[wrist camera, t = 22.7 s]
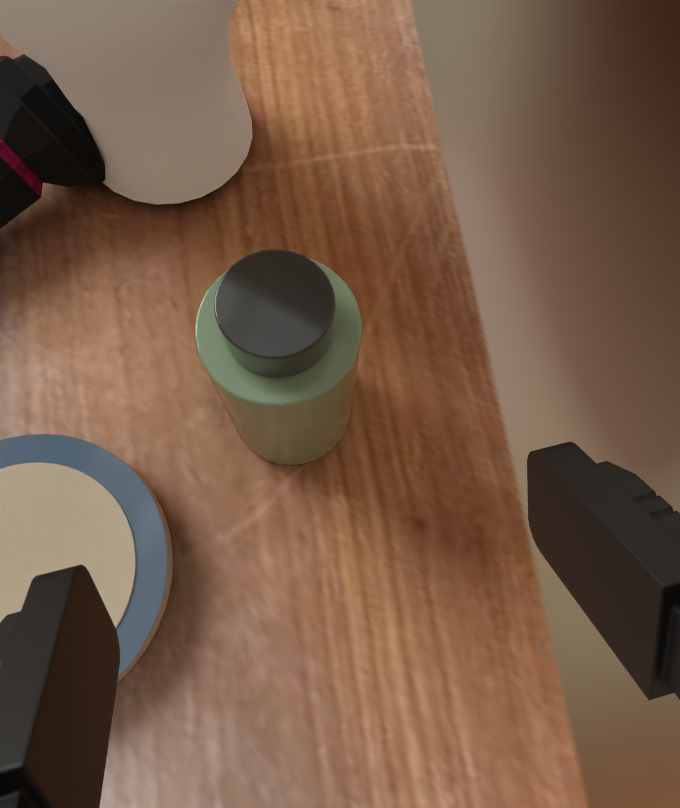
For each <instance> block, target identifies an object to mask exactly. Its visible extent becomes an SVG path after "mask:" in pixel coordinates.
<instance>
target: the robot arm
mask: <svg viewBox="0 0 680 808" xmlns="http://www.w3.org/2000/svg"><path fill="white" fill-rule="evenodd" d="M527 478H528V520H529V526H530V530H531V533H532V536H533V539H534V541H535V543H536V545H537V547H538V549H539V551H540V552H541V553H542V555H543V556H544V557H545V559H546V560H547V561H548V563H549V564H550V566H551V567H552V569H553V570H554V571H555V573H556V574H557V575H558V577H559V578H560V579H561V581H562V582H563V584H564V585H565V586H566V588H567V589H568V590H569V592H570V593H571V595H572V596H573V597H574V599H575V600H576V601H577V603H578V604H579V605H580V607H581V608H582V610H583V611H584V612H585V614H586V615H587V616H588V618H589V619H590V621H591V622H592V623H593V624H594V626H595V627H596V629H597V630H598V631H599V633H600V634H601V636H602V637H603V638H604V640H605V641H606V642H607V644H608V645H609V646H610V648H611V649H612V650H613V652H614V653H615V655H616V656H617V657H618V659H619V660H620V662H621V663H622V664H623V666H624V667H625V668H626V670H627V671H628V672H629V674H630V675H631V676H632V678H633V679H634V681H635V682H636V683H637V685H638V686H639V687H640V689H641V690H642V691H643V693H644V694H645V696H646V697H647V698H648V700H651V699H654V698H658V697H661V696H665V695H668V694H671V693H675V694H676V695H677V697H678V698H679V699H680V513H679V512H677V511H675V512H674V511H673V509H672V506H671V505H670V504H668V503H667V502H666V501H665V500H664V499H663V498H662V497H660V496H656V493H655V491H654V490H652V489H651V488H650V487H649V486H648V485H647V484H646V483H645V482H643V481H642V480H641V479H640V478H639V477H638V476H637V475H636V474H634V473H632V472H629V471H628V470H625V469H623V468H621V467H619V466H616V465H614V464H612V463H610V462H607V461H605V462H601V463H598V464H596V463H595V462H594V461H593V460H592V459H591V458H590V457H589V456H587V454H586V453H584V452H583V451H582V450H581V449H580V448H579V447H578V446H577V445H576V444H574V443H572V442H567V443H563V444H559V445H555V446H551V447H547V448H543V449H539V450H535V451H531V452H530V453H529V455H528V459H527ZM119 666H120V646H119V639H118V635H117V631H116V628H115V626H114V623H113V621H112V619H111V617H110V615H109V613H108V611H107V609H106V607H105V604H104V602H103V600H102V598H101V596H100V594H99V592H98V590H97V588H96V585H95V583H94V581H93V579H92V577H91V575H90V573H89V571H88V570H87V568H86V567H85V566H83V565H77V566H73V567H69V568H65V569H61V570H57V571H53V572H49V573H45V574H41V575H37V576H35V577H34V578H33V580H32V581H31V584H30V586H29V589H28V592H27V595H26V598H25V601H24V604H23V607H22V609H21V611H20V612H16V613H12V614H8V615H6V616H5V618H4V619H3V620H2V621H1V623H0V808H99V806H100V799H101V792H102V785H103V778H104V771H105V764H106V757H107V750H108V743H109V736H110V729H111V722H112V715H113V708H114V701H115V694H116V687H117V680H118V673H119Z"/></svg>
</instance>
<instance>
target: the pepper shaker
mask: <svg viewBox="0 0 680 808" xmlns="http://www.w3.org/2000/svg"><path fill="white" fill-rule="evenodd" d="M361 338H362V319H361V313H360V310H359V307H358V303H357V301H356V299H355V297H354V295H353V293H352V292H351V290H350V289H349V287H348V286H347V284H346V283H345V282H344V281H343V280H342V279H341V278H340V277H339V276H338V275H337V274H336V273H335V272H334V271H332V270H331V269H329V268H328V267H327V266H325V265H323V264H321V263H319V262H317V261H315V260H313V259H310V258H307V257H305V256H303V255H301V254H299V253H296V252H292V251H288V250H281V249H271V250H263V251H259V252H255V253H253V254H250V255H248V256H246V257H244V258H242V259H241V260H239V261H237V262H236V263H235V264H234V265H233V266H231V267H230V268H229V269H228V270H227V271H225V272H224V273H223V274H222V275H221V276H219V277H218V278H217V279H216V281H215V282H214V283H213V284H212V285H211V286H210V288H209V289H208V291H207V292H206V294H205V296H204V297H203V299H202V301H201V303H200V306H199V309H198V312H197V316H196V321H195V342H196V347H197V351H198V354H199V357H200V359H201V362H202V364H203V366H204V368H205V370H206V372H207V373H208V375H209V377H210V379H211V381H212V383H213V385H214V387H215V389H216V391H217V393H218V395H219V397H220V399H221V401H222V403H223V405H224V407H225V409H226V410H227V412H228V414H229V416H230V418H231V420H232V422H233V424H234V426H235V428H236V430H237V432H238V434H239V436H240V437H241V439H242V440H243V442H244V443H245V444H246V446H247V447H248V448H249V449H250V450H251V451H253V452H254V453H255V454H257V455H258V456H260V457H262V458H263V459H266V460H268V461H270V462H274V463H278V464H284V465H298V464H304V463H308V462H311V461H314V460H316V459H318V458H320V457H322V456H324V455H325V454H327V453H328V452H329V451H331V450H332V449H333V448H334V447H335V446H336V445H337V443H338V442H339V441H340V440H341V438H342V436H343V435H344V433H345V431H346V428H347V426H348V423H349V419H350V413H351V406H352V399H353V393H354V386H355V379H356V372H357V366H358V359H359V352H360V346H361Z"/></svg>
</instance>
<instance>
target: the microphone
mask: <svg viewBox="0 0 680 808" xmlns="http://www.w3.org/2000/svg"><path fill="white" fill-rule="evenodd" d="M103 181H105V164H104V161H103V159H102V156H101V154H100V152H99V149H98V147H97V145H96V143H95V141H94V139H93V137H92V135H91V133H90V130H89V128H88V126H87V124H86V122H85V120H84V118H83V116H82V115H81V114H80V113H79V112H78V111H77V110H76V109H75V108H74V107H73V106H72V104H71V103H70V102H69V100H68V99H67V97H66V96H65V95H64V93H63V92H62V90H61V89H60V88H59V86H58V85H57V84H56V82H55V81H54V79H53V78H52V77H51V75H50V74H49V72H48V71H47V70H46V68H44V67H43V66H41V65H40V64H38V63H37V62H35V61H34V60H32V59H31V58H29V57H28V56H26V55H25V54H23V55H21V56H19V57H17V58H15V59H11V58H9V57H7V56H0V228H2V227H3V226H4V225H6V224H7V223H8V222H9V221H11V220H12V219H13V218H15V217H16V216H17V215H19V214H20V213H21V212H22V211H24V210H25V209H26V208H28V207H29V206H30V205H31V204H33V203H34V202H35V201H37V200H38V199H39V198H41V193H42V184H43V183H49V184H56V185H62V186H68V187H69V186H74V185H78V184H82V183H86V182H89V183H91V184H93V185H95V186H96V187H97V186H98V185H99V184H101V183H102V182H103Z"/></svg>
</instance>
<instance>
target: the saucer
mask: <svg viewBox="0 0 680 808" xmlns="http://www.w3.org/2000/svg"><path fill="white" fill-rule="evenodd" d="M77 565H83V566H85V567H86V568H87V570H88V571H89V573H90V575H91V577H92V579H93V581H94V583H95V585H96V588H97V590H98V592H99V594H100V596H101V598H102V600H103V602H104V604H105V607H106V609H107V611H108V613H109V615H110V617H111V619H112V621H113V623H114V626H115V628H116V631H117V635H118V639H119V646H120V666H119V673H118V680H117V683H118V682H119V681H120V680H121V679H122V678H123V677H124V676H125V675H126V674H127V672H128V671H129V670H130V669H131V668H132V667H133V666H134V665H135V664H136V662H137V661H138V660H139V658H140V657H141V655H142V654H143V653H144V651H145V650H146V649H147V647H148V645H149V643H150V642H151V640H152V638H153V636H154V634H155V633H156V631H157V629H158V626H159V624H160V621H161V619H162V617H163V614H164V612H165V608H166V605H167V601H168V597H169V594H170V588H171V581H172V572H173V553H172V543H171V536H170V532H169V528H168V524H167V521H166V518H165V516H164V513H163V510H162V508H161V506H160V504H159V502H158V500H157V499H156V497H155V495H154V493H153V491H152V490H151V489H150V488H149V486H148V485H147V484H146V482H145V481H144V480H143V478H142V477H140V476H139V475H138V474H137V473H136V472H135V471H134V470H133V469H132V468H131V467H130V466H129V465H127V464H126V463H124V462H123V461H122V460H120V459H119V458H118V457H116V456H115V455H113V454H112V453H110V452H108V451H106V450H104V449H103V448H101V447H99V446H97V445H95V444H92V443H89V442H86V441H84V440H81V439H77V438H72V437H68V436H63V435H51V434H36V435H24V436H18V437H12V438H8V439H4V440H1V441H0V623H1V621H2V620H3V619H4V618H5V616H6V615H8V614H12V613H16V612H20V611H21V609H22V607H23V604H24V601H25V598H26V595H27V592H28V589H29V586H30V584H31V581H32V580H33V578H34V577H35V576H37V575H41V574H45V573H49V572H53V571H57V570H61V569H65V568H69V567H73V566H77Z"/></svg>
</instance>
